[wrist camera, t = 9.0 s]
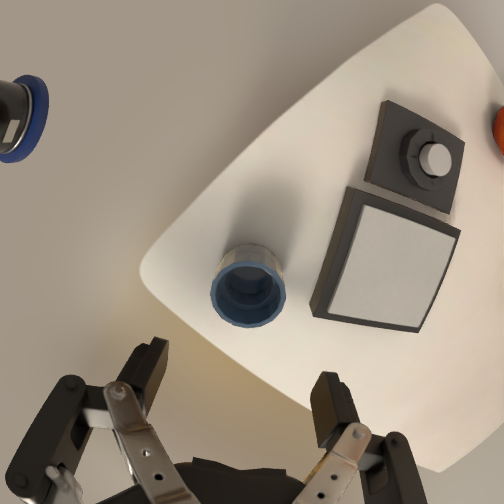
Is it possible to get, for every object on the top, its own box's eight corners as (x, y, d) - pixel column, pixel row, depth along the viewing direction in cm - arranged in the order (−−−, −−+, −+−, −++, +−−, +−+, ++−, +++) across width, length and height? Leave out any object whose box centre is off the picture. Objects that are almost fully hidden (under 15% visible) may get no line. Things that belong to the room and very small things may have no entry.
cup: (214, 292, 27) (205, 319, 22) (225, 236, 25) (218, 253, 20) (271, 305, 27) (274, 334, 22) (288, 250, 25) (294, 270, 20)
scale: (309, 304, 27) (314, 320, 24) (346, 186, 23) (357, 189, 20) (409, 322, 28) (420, 336, 25) (448, 224, 24) (464, 231, 21)
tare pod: (363, 180, 23) (376, 183, 20) (381, 102, 21) (395, 96, 18) (441, 212, 24) (458, 217, 21) (457, 142, 21) (474, 142, 18)
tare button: (416, 168, 20) (425, 169, 18) (422, 139, 19) (431, 138, 18) (438, 179, 20) (448, 180, 19) (444, 151, 19) (454, 151, 18)
